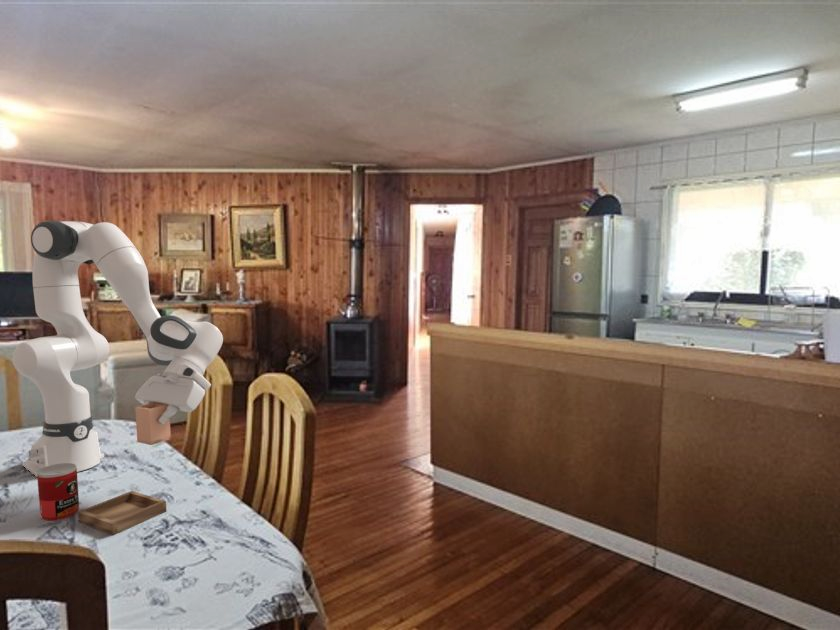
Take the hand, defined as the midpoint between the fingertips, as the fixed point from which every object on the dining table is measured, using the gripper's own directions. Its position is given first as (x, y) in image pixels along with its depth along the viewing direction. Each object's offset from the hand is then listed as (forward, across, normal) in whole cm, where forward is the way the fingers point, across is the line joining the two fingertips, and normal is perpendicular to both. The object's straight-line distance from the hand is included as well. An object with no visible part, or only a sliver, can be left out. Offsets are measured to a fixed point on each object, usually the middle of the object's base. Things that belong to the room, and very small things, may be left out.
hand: (150, 421), depth 136 cm
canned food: (+26, -11, +2) cm, 28 cm away
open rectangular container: (+3, 0, +4) cm, 5 cm away
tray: (+22, +4, +6) cm, 23 cm away
